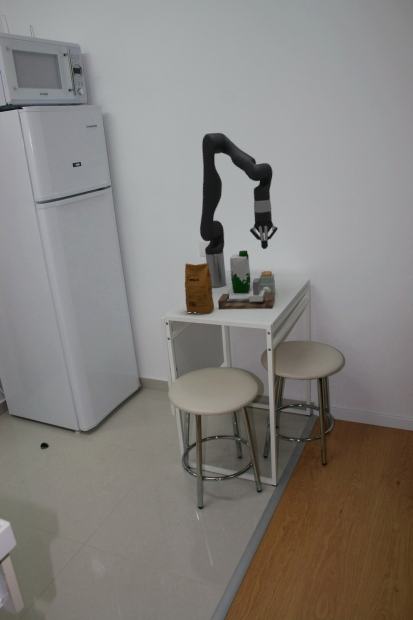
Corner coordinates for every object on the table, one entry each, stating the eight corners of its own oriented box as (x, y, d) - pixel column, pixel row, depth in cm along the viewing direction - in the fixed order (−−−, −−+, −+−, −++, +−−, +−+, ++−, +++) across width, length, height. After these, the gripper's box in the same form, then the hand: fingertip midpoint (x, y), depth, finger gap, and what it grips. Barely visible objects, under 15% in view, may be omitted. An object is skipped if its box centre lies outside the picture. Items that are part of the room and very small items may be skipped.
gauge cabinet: (260, 299, 232) (258, 278, 229) (262, 293, 239) (261, 273, 236) (273, 299, 230) (272, 278, 227) (275, 293, 238) (274, 273, 235)
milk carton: (249, 293, 242) (246, 253, 235) (231, 294, 244) (228, 254, 237) (252, 288, 250) (249, 249, 243) (234, 289, 252) (230, 250, 245)
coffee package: (191, 307, 231) (186, 260, 224) (217, 307, 227) (212, 260, 220) (183, 314, 222) (178, 266, 215) (210, 315, 218) (205, 266, 211)
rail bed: (218, 309, 224) (218, 300, 223) (223, 301, 234) (222, 293, 232) (272, 308, 218) (271, 299, 217) (274, 301, 228) (274, 292, 226)
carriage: (249, 301, 221) (248, 283, 218) (252, 295, 228) (250, 277, 225) (262, 301, 219) (261, 282, 217) (265, 295, 227) (264, 277, 224)
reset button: (261, 282, 231) (260, 274, 230) (262, 279, 235) (262, 271, 234) (271, 282, 230) (271, 273, 228) (272, 279, 234) (272, 270, 233)
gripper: (246, 212, 220) (249, 251, 226) (276, 210, 217) (278, 249, 223) (249, 209, 227) (251, 247, 233) (278, 208, 224) (280, 246, 230)
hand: (264, 248), depth 228 cm, fingers closed
